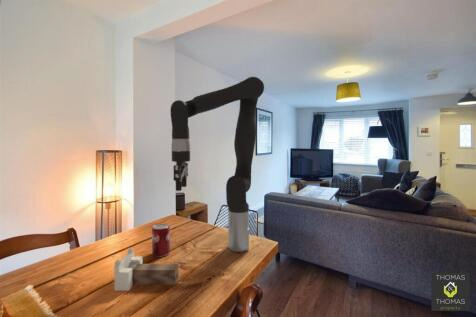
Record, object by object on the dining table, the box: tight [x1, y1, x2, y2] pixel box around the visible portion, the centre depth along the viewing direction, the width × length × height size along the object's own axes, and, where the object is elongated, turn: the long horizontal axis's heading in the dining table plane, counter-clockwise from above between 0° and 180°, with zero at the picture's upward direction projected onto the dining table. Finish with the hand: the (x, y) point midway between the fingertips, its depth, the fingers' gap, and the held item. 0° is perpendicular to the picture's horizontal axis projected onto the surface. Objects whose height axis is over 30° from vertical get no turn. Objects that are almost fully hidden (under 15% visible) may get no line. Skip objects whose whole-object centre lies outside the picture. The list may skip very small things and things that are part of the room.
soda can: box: [151, 223, 171, 258], centre depth 98 cm, size 7×7×12 cm
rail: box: [128, 263, 179, 286], centre depth 79 cm, size 16×4×5 cm, turn 90°
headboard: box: [113, 247, 144, 292], centre depth 78 cm, size 5×10×10 cm, turn 0°
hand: (181, 188), depth 97 cm, fingers open, 8 cm apart
